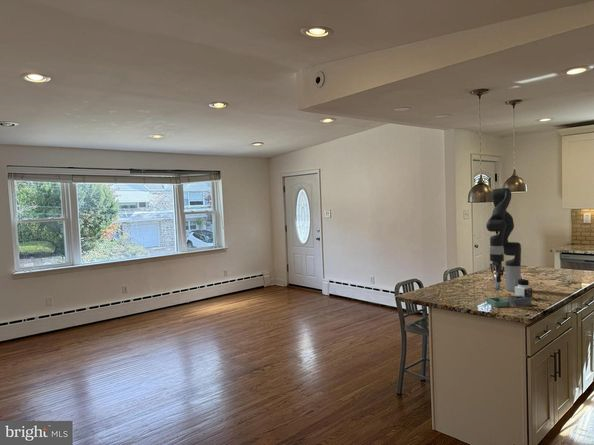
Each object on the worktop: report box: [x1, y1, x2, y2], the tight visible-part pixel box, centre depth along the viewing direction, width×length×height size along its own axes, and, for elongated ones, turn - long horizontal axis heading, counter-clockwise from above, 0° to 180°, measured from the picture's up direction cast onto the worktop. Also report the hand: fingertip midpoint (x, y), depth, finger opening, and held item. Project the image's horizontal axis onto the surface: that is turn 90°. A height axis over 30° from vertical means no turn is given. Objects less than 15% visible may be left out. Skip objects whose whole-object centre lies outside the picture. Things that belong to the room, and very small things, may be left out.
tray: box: [486, 297, 510, 308], centre depth 248 cm, size 12×8×3 cm, turn 0°
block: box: [507, 295, 532, 307], centre depth 248 cm, size 9×9×4 cm
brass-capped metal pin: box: [492, 271, 501, 291], centre depth 248 cm, size 4×4×11 cm
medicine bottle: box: [514, 278, 533, 300], centre depth 262 cm, size 7×7×12 cm
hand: (497, 281), depth 248 cm, fingers closed on brass-capped metal pin, 3 cm apart
